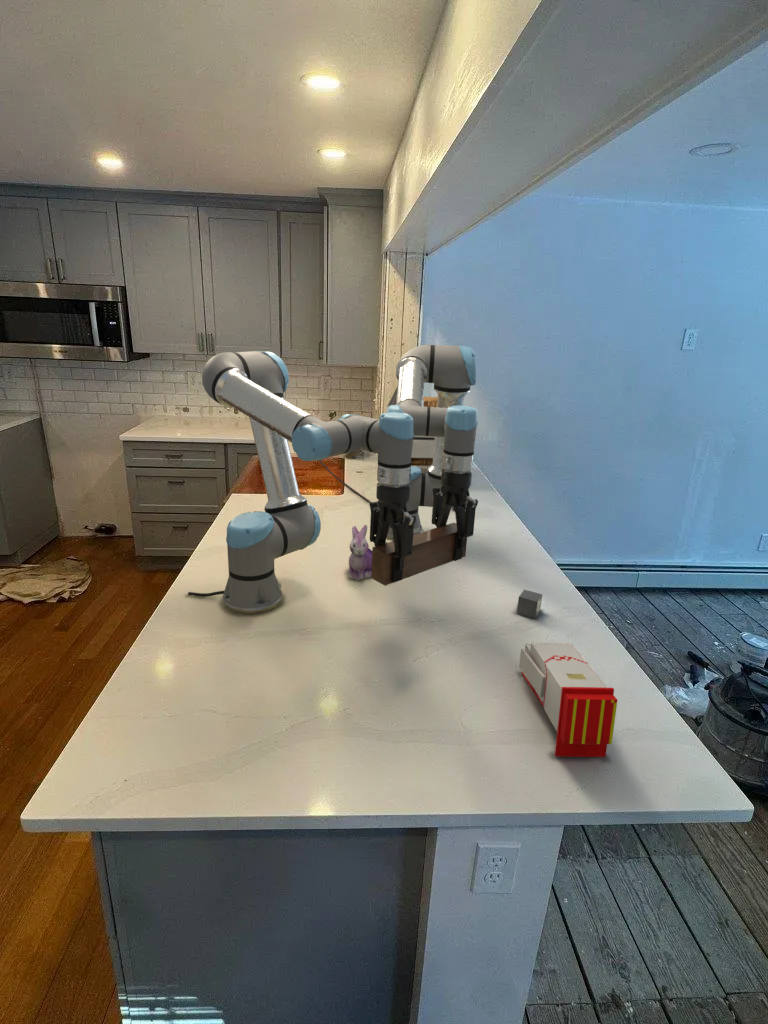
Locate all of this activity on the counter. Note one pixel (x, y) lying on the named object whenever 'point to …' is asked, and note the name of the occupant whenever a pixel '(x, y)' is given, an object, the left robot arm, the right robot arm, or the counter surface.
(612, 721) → the toy
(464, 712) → the counter surface
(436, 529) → the walnut bar
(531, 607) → the slate cube
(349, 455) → the fossil
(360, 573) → the figurine
